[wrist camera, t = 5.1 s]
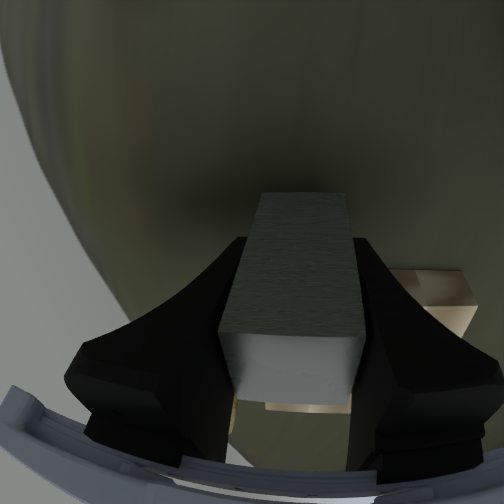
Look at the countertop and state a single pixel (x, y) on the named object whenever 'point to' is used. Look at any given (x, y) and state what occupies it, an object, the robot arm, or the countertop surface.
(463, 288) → the socket block
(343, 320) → the square bit
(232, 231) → the countertop surface
